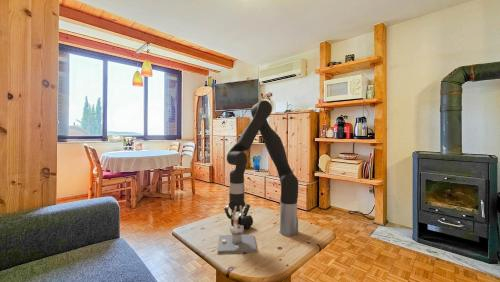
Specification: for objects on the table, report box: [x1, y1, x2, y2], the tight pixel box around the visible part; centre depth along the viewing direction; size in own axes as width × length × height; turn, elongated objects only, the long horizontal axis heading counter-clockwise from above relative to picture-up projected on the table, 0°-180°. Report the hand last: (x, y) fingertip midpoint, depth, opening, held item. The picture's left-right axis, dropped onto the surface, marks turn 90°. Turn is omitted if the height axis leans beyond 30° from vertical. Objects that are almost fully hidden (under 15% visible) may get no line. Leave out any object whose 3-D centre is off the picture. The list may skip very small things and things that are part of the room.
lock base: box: [217, 233, 258, 255], centre depth 111 cm, size 18×16×6 cm
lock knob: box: [229, 213, 245, 235], centre depth 111 cm, size 10×7×7 cm
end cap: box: [234, 214, 254, 229], centre depth 131 cm, size 10×7×7 cm
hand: (236, 225), depth 112 cm, fingers closed on lock knob, 3 cm apart
